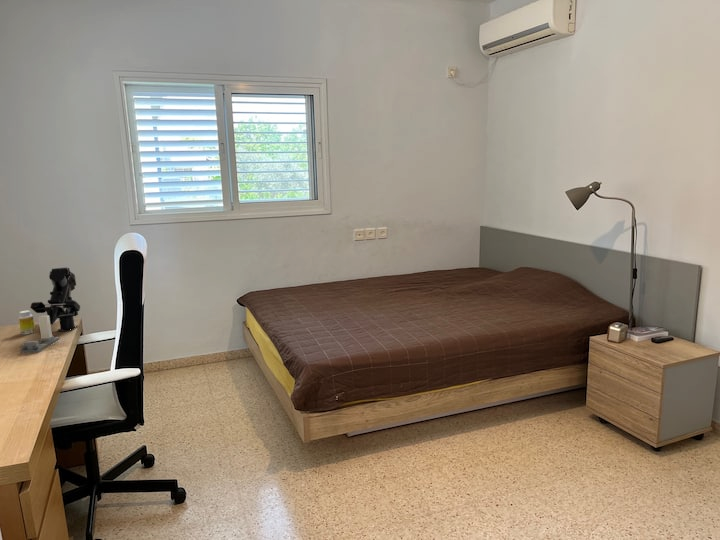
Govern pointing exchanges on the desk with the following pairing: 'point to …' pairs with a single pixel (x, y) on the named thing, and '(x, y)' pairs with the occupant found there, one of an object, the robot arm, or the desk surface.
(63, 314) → the robot arm
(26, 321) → the supplement bottle
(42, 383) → the desk surface
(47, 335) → the fader tab
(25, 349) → the console
